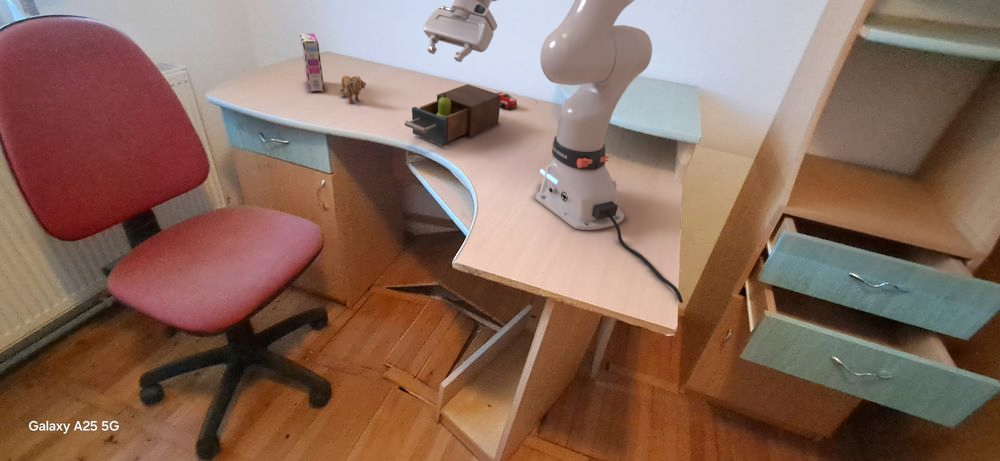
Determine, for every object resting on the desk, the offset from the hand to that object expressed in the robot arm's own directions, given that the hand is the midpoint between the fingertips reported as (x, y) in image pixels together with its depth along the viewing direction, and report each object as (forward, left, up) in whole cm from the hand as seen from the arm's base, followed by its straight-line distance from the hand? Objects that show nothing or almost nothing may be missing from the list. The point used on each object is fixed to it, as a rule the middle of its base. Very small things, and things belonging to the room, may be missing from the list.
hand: (443, 56), depth 121 cm
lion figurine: (+35, +20, -23) cm, 46 cm away
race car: (+20, -28, -23) cm, 41 cm away
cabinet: (+6, -10, -23) cm, 26 cm away
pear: (0, -1, -21) cm, 21 cm away
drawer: (-1, +2, -22) cm, 22 cm away
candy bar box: (+49, +30, -23) cm, 62 cm away
